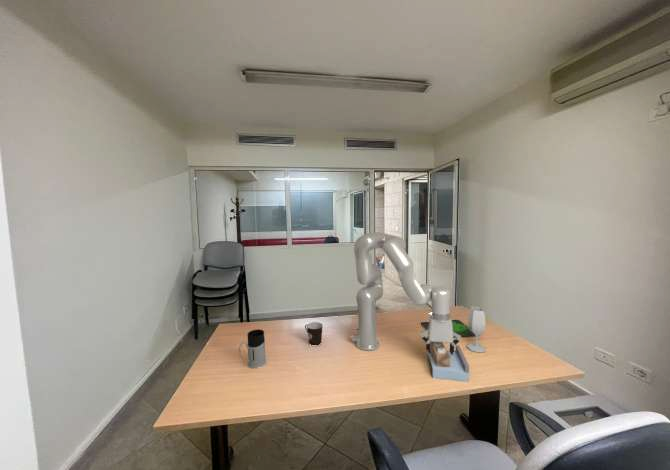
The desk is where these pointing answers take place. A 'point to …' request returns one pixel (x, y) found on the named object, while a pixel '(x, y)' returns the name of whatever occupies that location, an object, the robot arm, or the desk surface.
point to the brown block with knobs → (439, 354)
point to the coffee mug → (314, 332)
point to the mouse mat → (456, 328)
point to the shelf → (452, 367)
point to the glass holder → (255, 348)
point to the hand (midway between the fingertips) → (439, 352)
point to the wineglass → (476, 327)
